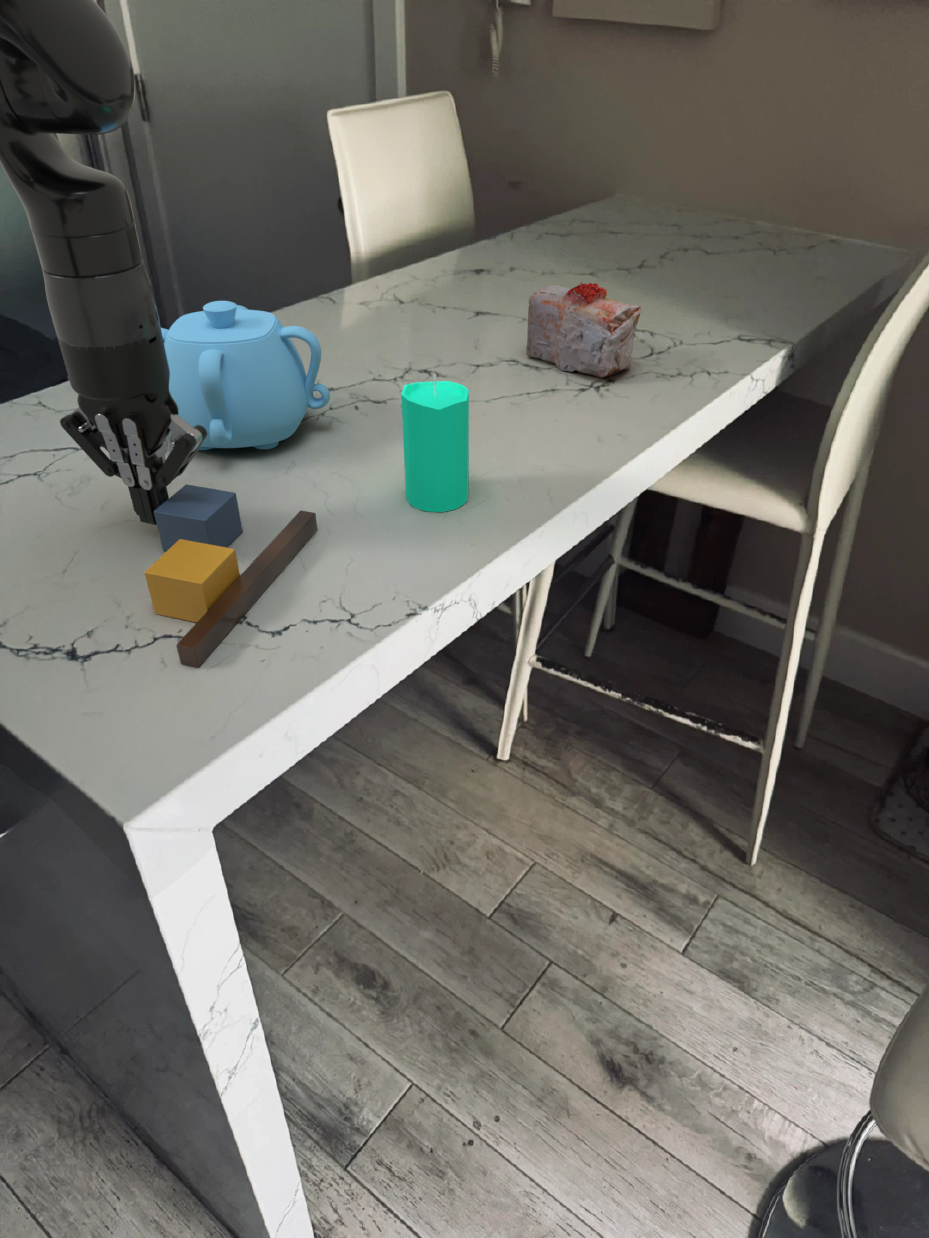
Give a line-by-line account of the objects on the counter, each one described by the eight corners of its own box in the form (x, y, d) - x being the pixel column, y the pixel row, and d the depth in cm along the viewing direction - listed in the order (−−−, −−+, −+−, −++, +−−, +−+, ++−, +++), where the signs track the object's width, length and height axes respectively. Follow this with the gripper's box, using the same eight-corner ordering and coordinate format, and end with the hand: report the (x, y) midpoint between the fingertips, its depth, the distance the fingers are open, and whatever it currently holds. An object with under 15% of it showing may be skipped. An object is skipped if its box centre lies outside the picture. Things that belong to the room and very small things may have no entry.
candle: (395, 505, 82) (388, 382, 75) (421, 476, 86) (417, 358, 79) (454, 517, 80) (453, 393, 73) (478, 488, 84) (479, 368, 77)
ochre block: (211, 626, 67) (201, 583, 65) (154, 614, 68) (143, 572, 66) (243, 590, 71) (235, 548, 68) (189, 579, 72) (179, 538, 70)
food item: (642, 368, 109) (653, 287, 103) (608, 388, 104) (616, 304, 98) (552, 343, 116) (557, 266, 110) (516, 361, 111) (519, 281, 105)
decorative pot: (270, 390, 104) (253, 271, 95) (345, 434, 94) (333, 306, 86) (139, 427, 95) (107, 301, 87) (206, 481, 85) (178, 344, 77)
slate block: (213, 561, 74) (205, 520, 72) (163, 551, 76) (153, 511, 73) (243, 531, 78) (236, 492, 76) (194, 522, 79) (185, 483, 77)
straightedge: (198, 668, 63) (193, 649, 62) (180, 664, 64) (175, 644, 62) (317, 530, 78) (315, 512, 77) (302, 527, 79) (300, 510, 78)
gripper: (1, 331, 65) (64, 528, 76) (155, 352, 62) (199, 555, 73) (66, 300, 71) (116, 488, 82) (210, 318, 68) (243, 510, 78)
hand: (155, 519), depth 77 cm, fingers closed
